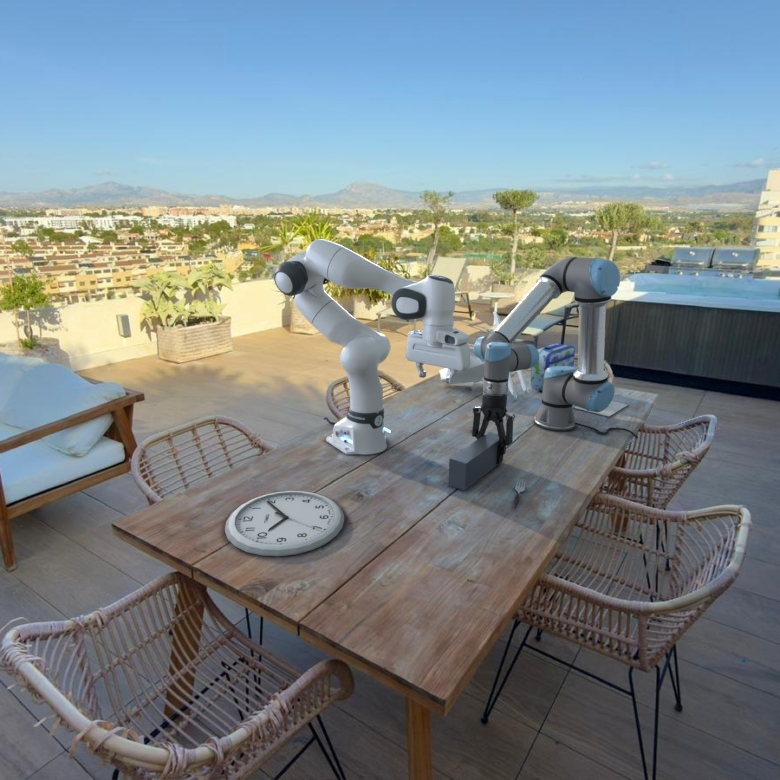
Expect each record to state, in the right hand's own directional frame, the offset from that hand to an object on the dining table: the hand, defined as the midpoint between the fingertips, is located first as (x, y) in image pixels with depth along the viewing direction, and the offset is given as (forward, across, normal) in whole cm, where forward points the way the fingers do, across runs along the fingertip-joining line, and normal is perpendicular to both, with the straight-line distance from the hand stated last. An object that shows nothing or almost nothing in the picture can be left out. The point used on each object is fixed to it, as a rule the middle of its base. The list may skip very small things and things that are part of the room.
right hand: (490, 460), depth 169 cm
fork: (+1, +16, -15) cm, 22 cm away
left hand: (-29, -11, -17) cm, 36 cm away
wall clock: (0, -26, -65) cm, 70 cm away
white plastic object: (+2, -39, +67) cm, 78 cm away
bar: (+1, 0, -9) cm, 9 cm away
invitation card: (+3, +12, +83) cm, 84 cm away
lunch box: (+3, -16, +96) cm, 97 cm away
